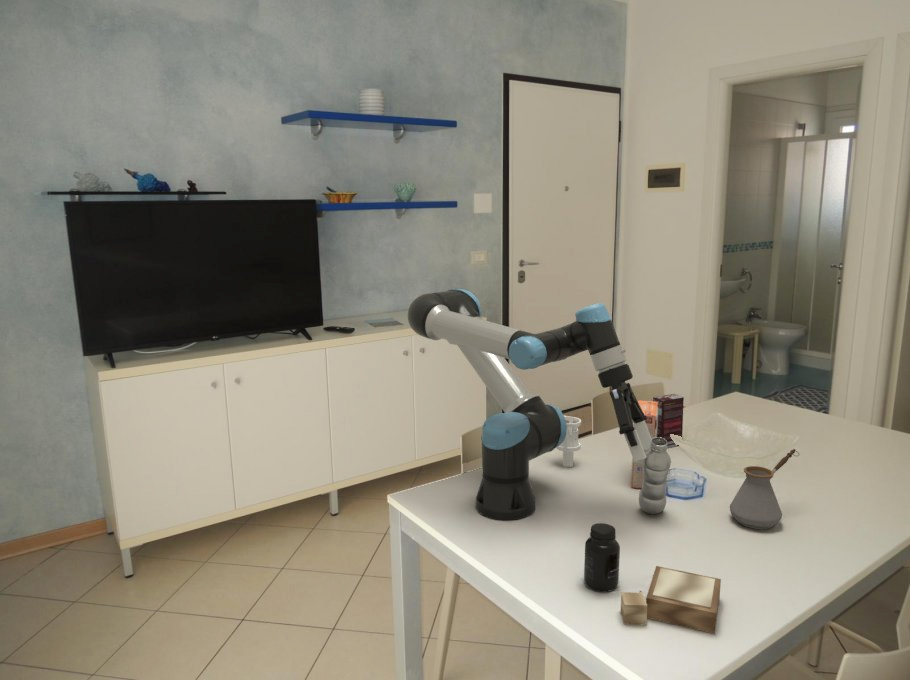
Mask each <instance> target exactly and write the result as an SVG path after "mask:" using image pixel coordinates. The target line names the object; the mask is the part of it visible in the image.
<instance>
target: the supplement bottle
mask: <svg viewBox="0 0 910 680" xmlns="http://www.w3.org/2000/svg"><path fill="white" fill-rule="evenodd" d="M616 538H617V537H616V527H614V525H611V524H609V523H605V522H604V523H603V522H598V523H594V524H592V525H591V527H590V533H589V537H588V538H587V539H586V541H585V544H584V567H583V568H584V569H583V570H584V571H583V572H584V573H583V574H584V575H583V581H584V583H585V585H586V586H587V587H588V588H589V589H591V590H594V591H596V592H603V593H604V592H606V593H607V592H611V591H614V590H615V589H617V587H618V586H619V579H620V578H619V577H620V558H621V555H620V553H621V547H620V546H621V545H620V544H619V542H618V541H617V540H616Z"/></svg>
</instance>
